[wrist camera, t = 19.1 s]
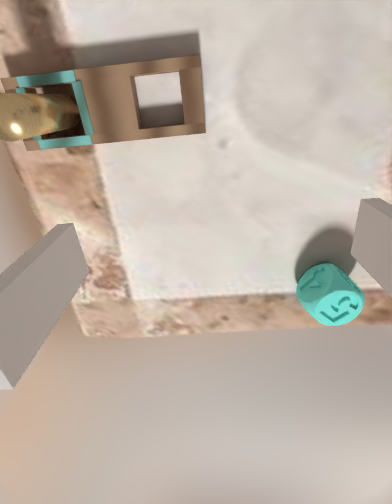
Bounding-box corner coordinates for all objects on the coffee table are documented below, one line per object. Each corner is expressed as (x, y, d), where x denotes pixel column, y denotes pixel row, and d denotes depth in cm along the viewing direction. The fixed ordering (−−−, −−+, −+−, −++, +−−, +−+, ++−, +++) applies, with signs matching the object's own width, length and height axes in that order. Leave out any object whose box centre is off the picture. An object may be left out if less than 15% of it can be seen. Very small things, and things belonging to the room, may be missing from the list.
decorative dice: (290, 284, 54) (303, 312, 47) (322, 255, 51) (341, 280, 44) (318, 304, 56) (335, 333, 49) (351, 277, 53) (374, 305, 46)
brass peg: (74, 92, 39) (16, 90, 27) (84, 126, 41) (33, 139, 29) (44, 96, 39) (-28, 95, 27) (55, 129, 41) (-7, 143, 29)
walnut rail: (200, 57, 37) (200, 54, 34) (205, 131, 41) (205, 133, 39) (12, 79, 38) (-1, 78, 36) (36, 148, 43) (26, 151, 40)
